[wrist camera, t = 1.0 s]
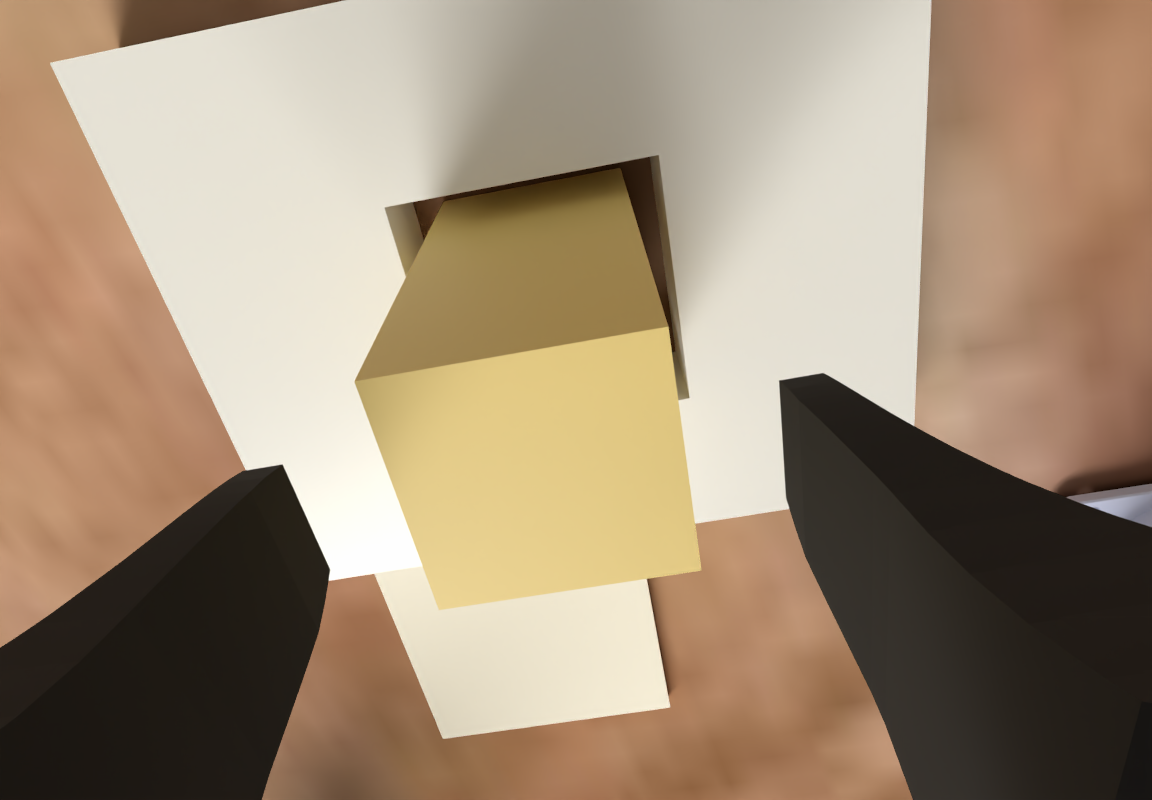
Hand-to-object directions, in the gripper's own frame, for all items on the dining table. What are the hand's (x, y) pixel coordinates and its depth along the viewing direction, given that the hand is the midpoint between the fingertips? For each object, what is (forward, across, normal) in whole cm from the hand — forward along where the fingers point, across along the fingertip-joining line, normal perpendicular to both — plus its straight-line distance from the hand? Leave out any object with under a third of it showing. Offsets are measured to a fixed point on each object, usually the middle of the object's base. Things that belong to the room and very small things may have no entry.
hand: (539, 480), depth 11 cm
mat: (+9, +3, +12) cm, 15 cm away
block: (+9, 0, 0) cm, 9 cm away
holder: (+9, 0, 0) cm, 9 cm away
